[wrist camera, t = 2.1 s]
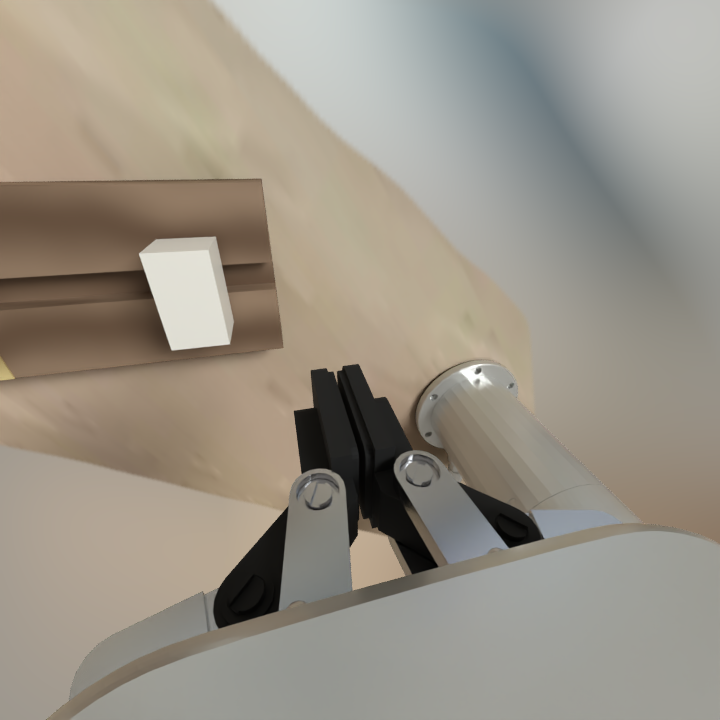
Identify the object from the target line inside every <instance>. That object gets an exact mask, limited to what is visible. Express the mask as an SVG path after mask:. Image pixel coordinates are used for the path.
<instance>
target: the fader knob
mask: <svg viewBox="0 0 720 720" xmlns="http://www.w3.org/2000/svg"><path fill="white" fill-rule="evenodd" d="M139 256H140V259H141V262H142V265H143V268H144V271H145V273H146V276H147V279H148V282H149V285H150V288H151V291H152V294H153V297H154V300H155V303H156V306H157V309H158V312H159V315H160V318H161V321H162V324H163V327H164V330H165V333H166V336H167V339H168V342H169V345H170V347H171V350H182V349H191V348H200V347H210V346H219V345H228V344H230V341H231V335H232V330H233V324H234V320H233V315H232V310H231V306H230V301H229V296H228V292H227V287H226V282H225V278H224V273H223V268H222V263H221V259H220V254H219V249H218V245H217V240H216V237H195V238H173V239H156V240H155V241H153V242H152V243H151V244H150V245H149V246H147V247H146V248H145V249H144V250H143V251H141V252H140V253H139Z"/></svg>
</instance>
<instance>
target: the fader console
mask: <svg viewBox="0 0 720 720" xmlns="http://www.w3.org/2000/svg"><path fill="white" fill-rule="evenodd" d="M195 237H216V240H217V245H218V249H219V254H220V259H221V263H222V268H223V273H224V278H225V282H226V287H227V292H228V296H229V301H230V306H231V310H232V315H233V320H234V324H233V330H232V335H231V341H230V344H228V345H219V346H210V347H200V348H191V349H182V350H171V347H170V345H169V342H168V339H167V336H166V333H165V330H164V327H163V324H162V321H161V318H160V315H159V312H158V309H157V306H156V303H155V300H154V297H153V294H152V291H151V288H150V285H149V282H148V279H147V276H146V273H145V271H144V268H143V265H142V262H141V259H140V256H139V253H140V252H141V251H143V250H144V249H145V248H146V247H147V246H149V245H150V244H151V243H152V242H153V241H155V240H156V239H173V238H195ZM279 348H283V340H282V330H281V322H280V315H279V307H278V300H277V292H276V285H275V277H274V270H273V262H272V255H271V247H270V240H269V233H268V225H267V218H266V210H265V203H264V195H263V188H262V180H261V179H207V180H133V181H58V182H0V380H9V379H15V378H20V377H29V376H38V375H47V374H56V373H65V372H74V371H83V370H92V369H101V368H110V367H119V366H127V365H136V364H145V363H154V362H163V361H172V360H181V359H190V358H199V357H208V356H217V355H226V354H235V353H244V352H252V351H261V350H270V349H279Z"/></svg>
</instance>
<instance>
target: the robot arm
mask: <svg viewBox="0 0 720 720" xmlns="http://www.w3.org/2000/svg"><path fill="white" fill-rule="evenodd" d="M337 379H338V385H337V382H336V379H335V375H334V373H333V372H328V371H327V369H326V368H325V369H317V370H311V380H312V392H313V403H314V408H310V409H303V410H297V411H294V416H295V424H296V432H297V440H298V448H299V456H300V464H301V472H302V475H300V476H299V477H298V478H297V479H296V480H295V482H294V483H293V485H292V487H291V491H290V497H289V506H288V507H287V508H286V509H285V511H284V512H283V513H282V514H281V515H280V516H279V517H278V519H277V520H276V521H275V522H274V523H273V524H272V526H271V527H270V528H269V529H268V530H267V531H266V533H265V534H264V535H263V536H262V537H261V538H260V539H259V540H258V542H257V543H256V544H255V545H254V546H253V547H252V548H251V550H250V551H249V552H248V553H247V554H246V555H245V557H244V558H243V559H242V560H241V561H240V562H239V563H238V565H237V566H236V567H235V568H234V569H233V570H232V571H231V573H230V574H229V575H228V576H227V577H226V578H225V580H224V581H223V583H222V584H221V586H220V587H219V588H217V589H216V590H213V591H211V592H209V593H207V594H205V595H204V593H203V592H200V593H198V594H196V595H194V596H192V597H190V598H188V599H186V600H184V601H181V602H179V603H177V604H175V605H173V606H171V607H169V608H167V609H165V610H163V611H161V612H159V613H157V614H155V615H153V616H151V617H149V618H146V619H144V620H143V621H140V622H138V623H136V624H134V625H132V626H130V627H128V628H126V629H124V630H122V631H120V632H118V633H115V634H113V635H111V636H110V637H108V638H107V639H105V640H104V641H102V642H101V643H99V644H98V645H97V646H96V647H95V648H94V649H93V650H92V651H91V652H90V653H89V654H88V655H87V656H86V657H85V659H84V661H83V662H82V664H81V665H80V667H79V669H78V670H77V672H76V674H75V677H74V681H73V684H72V687H71V691H70V698H69V701H68V702H67V703H66V704H65V705H63V706H62V707H60V708H59V709H58V710H57V711H56V712H54V713H53V714H52V715H51V716H50V717H49V718H47V719H46V720H720V544H718V543H717V542H715V541H713V540H711V539H708V538H706V537H704V536H702V535H699V534H696V533H692V532H689V531H685V530H682V529H678V528H674V527H667V526H660V525H654V524H644V523H643V522H642V521H641V520H640V519H639V518H638V517H637V516H636V515H635V514H634V513H633V512H632V511H630V509H628V507H627V506H625V505H624V504H623V503H622V502H621V501H620V500H619V499H618V498H617V497H616V496H615V495H614V494H613V493H612V492H611V491H610V490H609V489H608V488H607V487H606V486H605V485H603V483H602V482H601V481H599V479H598V478H596V476H595V475H593V473H592V472H591V471H589V469H587V467H586V466H584V465H583V464H582V463H581V462H580V461H579V460H578V459H577V458H576V457H575V456H574V455H573V454H572V453H571V452H570V451H569V450H568V449H567V448H566V447H565V446H564V445H563V444H562V443H561V442H560V441H559V440H558V439H557V438H556V437H555V436H554V435H553V434H552V433H551V432H550V431H549V430H548V429H547V428H546V427H545V426H544V425H543V424H542V423H541V422H540V421H539V420H538V419H537V418H536V417H535V416H534V415H533V414H532V413H531V412H530V411H529V410H528V409H527V408H526V407H525V406H524V405H523V404H522V403H521V402H520V401H519V400H518V399H517V396H518V386H517V382H516V379H515V378H514V376H513V374H512V373H511V372H510V371H509V370H508V369H507V368H505V367H504V366H502V365H501V364H499V363H496V362H493V361H488V360H476V361H470V362H466V363H462V364H460V365H458V366H455V367H453V368H451V369H450V370H448V371H446V372H445V373H443V374H442V375H440V376H439V377H438V378H437V379H436V380H434V381H433V382H432V384H431V385H430V386H429V387H428V388H427V389H426V391H425V392H424V394H423V395H422V397H421V399H420V401H419V403H418V405H417V410H416V425H417V428H418V430H419V432H420V434H421V436H422V437H423V438H424V439H425V441H426V442H428V443H429V444H431V445H433V446H435V447H438V448H443V449H445V451H446V452H447V454H448V460H449V462H450V464H449V466H448V470H447V468H446V467H445V466H444V464H443V463H442V462H441V461H440V460H439V459H438V458H437V457H436V456H434V455H432V454H430V453H428V452H425V451H419V450H412V448H411V446H410V444H409V442H408V440H407V438H406V435H405V433H404V431H403V429H402V427H401V425H400V423H399V421H398V419H397V417H396V415H395V413H394V411H393V409H392V407H391V405H390V403H389V401H388V400H387V398H386V397H381V398H375V399H374V397H373V395H372V393H371V390H370V388H369V386H368V384H367V382H366V379H365V377H364V375H363V373H362V370H361V368H360V366H359V364H356V365H348V366H343V368H342V370H341V371H337ZM462 478H463V480H464V482H465V483H466V485H467V486H466V485H464V484H462V483H459V482H461V480H462ZM359 506H360V509H361V513H362V516H363V519H367V518H369V519H370V523H371V526H372V528H376V527H378V530H379V531H381V532H383V533H384V534H386V535H388V538H389V542H390V544H391V546H392V549H393V551H394V552H395V554H396V557H397V559H398V561H399V563H400V565H401V567H402V569H403V571H404V573H405V575H406V576H405V577H401V578H398V579H394V580H390V581H387V582H383V583H379V584H376V585H372V586H368V587H365V588H361V589H358V590H354V591H352V579H351V563H350V549H349V548H350V547H351V545H352V543H353V542H354V540H355V539H356V537H357V535H358V520H359Z"/></svg>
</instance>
